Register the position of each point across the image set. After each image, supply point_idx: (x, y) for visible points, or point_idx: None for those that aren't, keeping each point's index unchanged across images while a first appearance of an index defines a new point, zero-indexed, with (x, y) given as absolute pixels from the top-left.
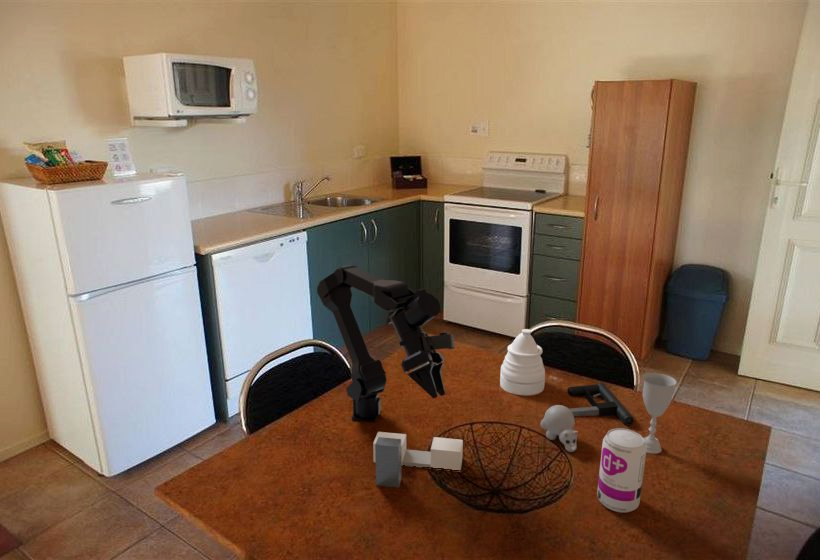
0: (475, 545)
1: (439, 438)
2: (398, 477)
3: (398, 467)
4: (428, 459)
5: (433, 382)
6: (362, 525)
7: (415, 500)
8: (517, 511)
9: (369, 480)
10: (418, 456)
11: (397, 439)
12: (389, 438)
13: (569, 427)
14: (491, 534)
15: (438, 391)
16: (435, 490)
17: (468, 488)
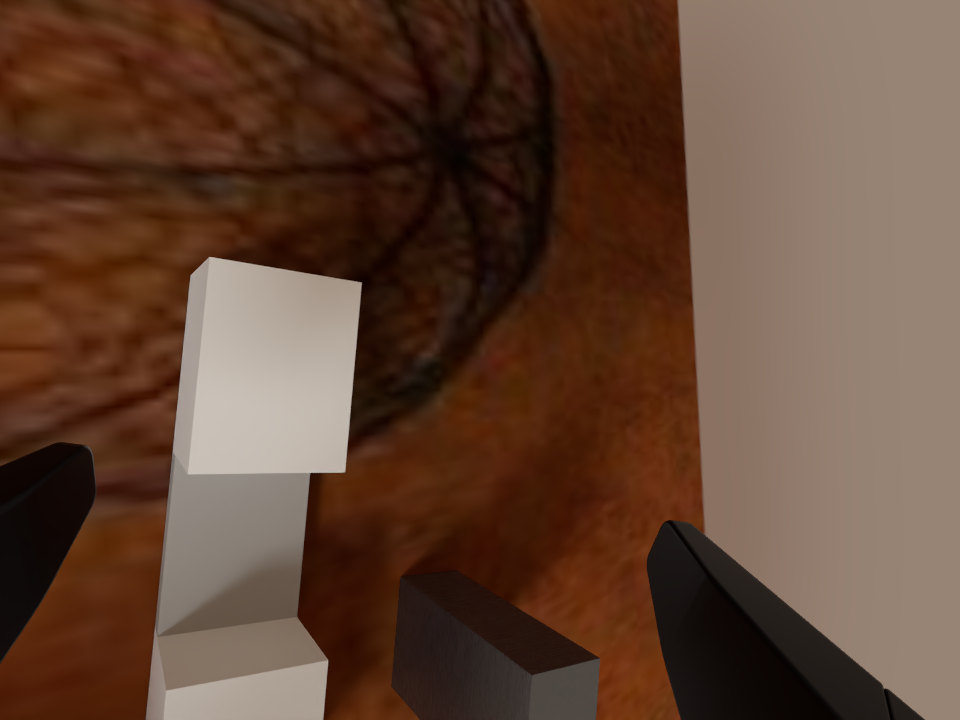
0: (671, 271)
1: (206, 429)
2: (484, 588)
3: (515, 607)
4: (262, 475)
5: (853, 670)
6: (630, 627)
7: (519, 482)
8: (545, 95)
9: None
10: (236, 539)
11: (536, 697)
12: None
13: None
14: (636, 215)
15: (52, 565)
16: (460, 409)
17: (438, 265)
